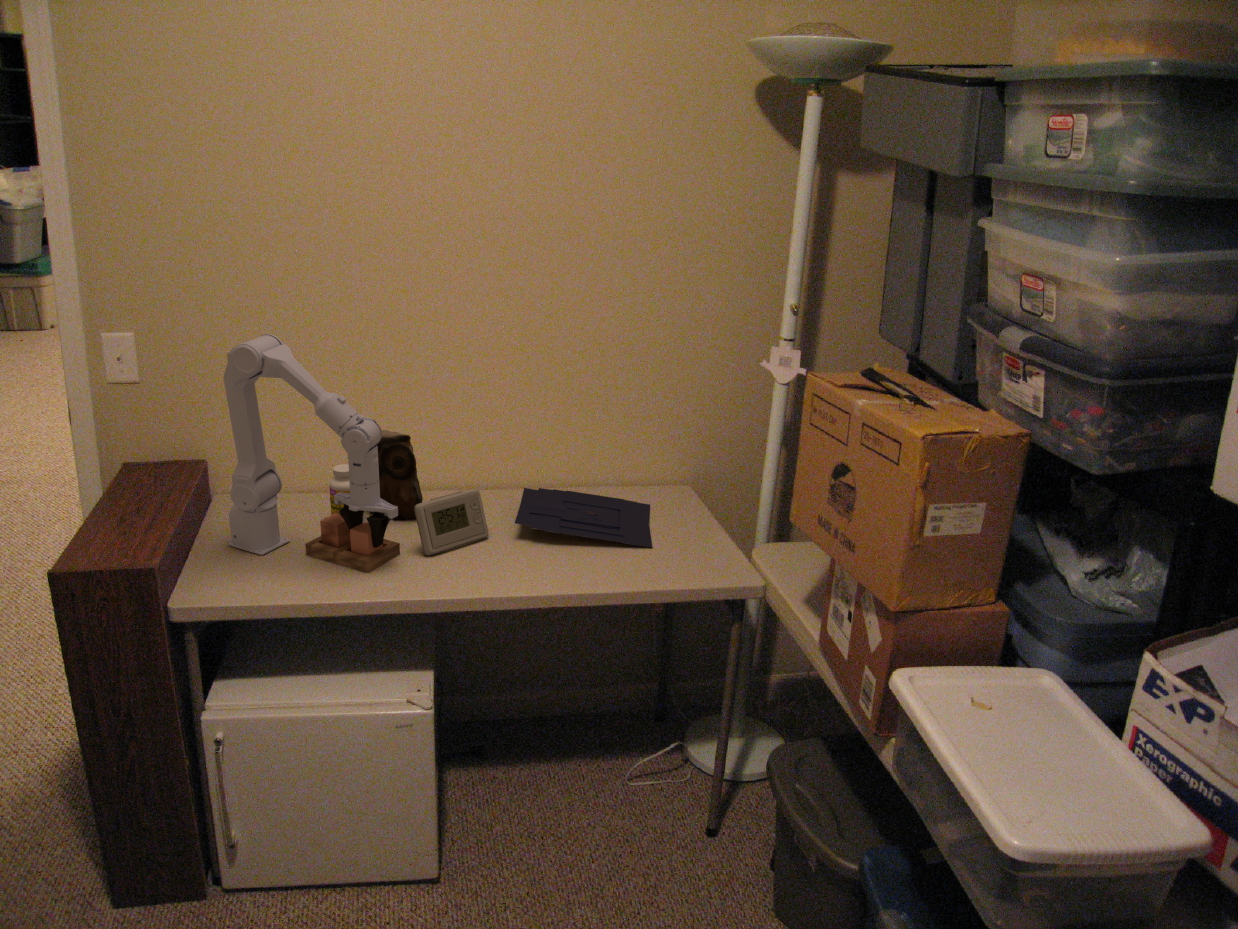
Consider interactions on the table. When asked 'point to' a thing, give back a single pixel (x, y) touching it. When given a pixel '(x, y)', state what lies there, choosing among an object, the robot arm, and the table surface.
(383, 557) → the walnut base
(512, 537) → the table surface
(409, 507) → the owl
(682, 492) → the table surface
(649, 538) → the black flat block
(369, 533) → the post block
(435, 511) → the digital clock
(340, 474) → the supplement bottle
